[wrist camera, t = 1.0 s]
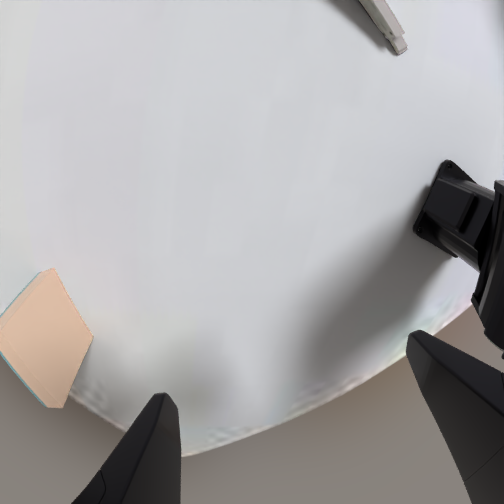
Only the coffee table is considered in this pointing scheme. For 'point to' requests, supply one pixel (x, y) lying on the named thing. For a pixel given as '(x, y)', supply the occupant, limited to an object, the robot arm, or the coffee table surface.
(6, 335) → the tile
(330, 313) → the coffee table surface
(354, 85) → the coffee table surface
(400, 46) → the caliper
